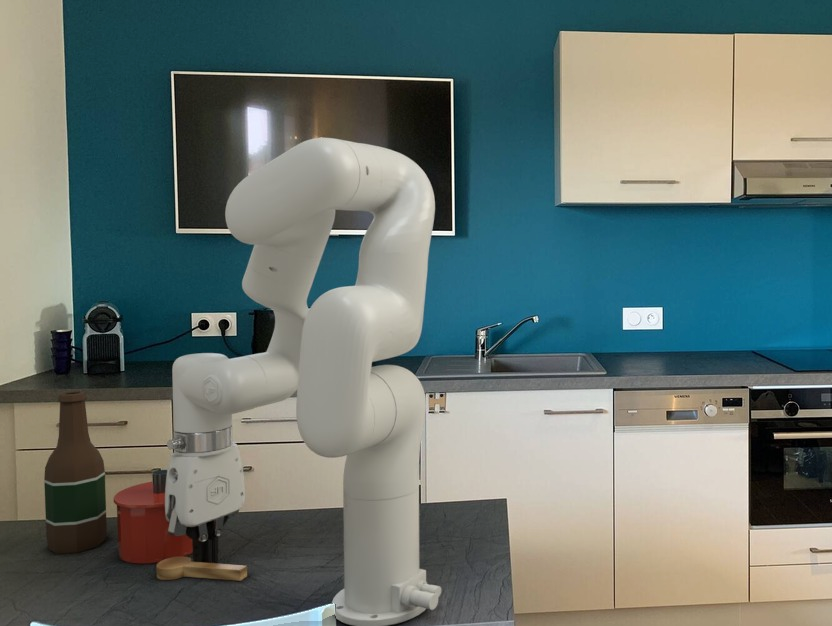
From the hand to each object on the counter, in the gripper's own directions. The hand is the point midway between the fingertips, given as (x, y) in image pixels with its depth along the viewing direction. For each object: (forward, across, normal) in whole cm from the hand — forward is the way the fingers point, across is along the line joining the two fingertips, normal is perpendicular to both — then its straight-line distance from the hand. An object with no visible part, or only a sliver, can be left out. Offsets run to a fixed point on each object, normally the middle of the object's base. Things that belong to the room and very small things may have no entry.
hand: (205, 563), depth 113 cm
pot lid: (-8, +2, +12) cm, 15 cm away
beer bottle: (+1, -3, +25) cm, 25 cm away
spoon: (+1, -2, -1) cm, 2 cm away
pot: (+1, +2, +12) cm, 13 cm away
